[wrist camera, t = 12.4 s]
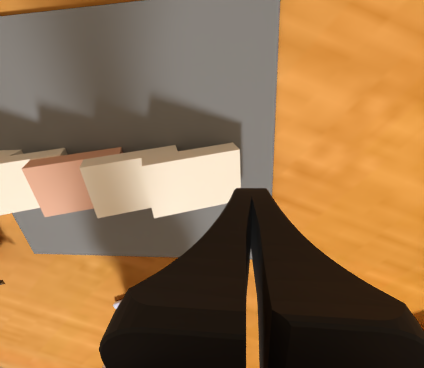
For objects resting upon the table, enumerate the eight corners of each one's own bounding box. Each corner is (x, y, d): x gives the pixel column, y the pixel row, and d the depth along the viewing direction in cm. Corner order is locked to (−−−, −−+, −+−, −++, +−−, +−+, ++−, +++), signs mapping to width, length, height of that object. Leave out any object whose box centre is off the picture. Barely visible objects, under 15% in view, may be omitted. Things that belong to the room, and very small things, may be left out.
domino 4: (239, 149, 19) (141, 166, 18) (241, 200, 21) (154, 218, 20) (232, 142, 20) (141, 157, 19) (235, 190, 22) (153, 207, 21)
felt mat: (280, -15, 15) (280, -16, 15) (269, 258, 26) (269, 259, 26) (-89, 26, 19) (-92, 26, 19) (35, 252, 30) (34, 253, 29)
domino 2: (119, 153, 20) (21, 168, 19) (132, 201, 22) (44, 217, 21) (121, 146, 22) (29, 160, 20) (133, 192, 24) (51, 206, 23)
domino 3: (177, 151, 20) (79, 167, 18) (185, 201, 22) (97, 218, 20) (175, 144, 21) (83, 159, 20) (182, 191, 23) (100, 207, 22)
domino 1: (60, 154, 21) (-40, 169, 20) (78, 200, 23) (-11, 217, 22) (64, 147, 22) (-29, 161, 21) (81, 191, 24) (-3, 207, 23)
